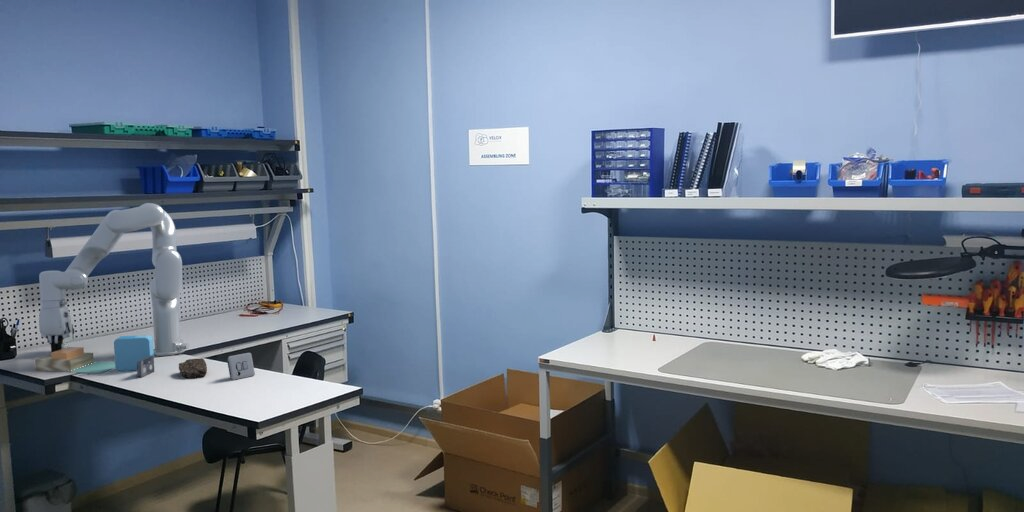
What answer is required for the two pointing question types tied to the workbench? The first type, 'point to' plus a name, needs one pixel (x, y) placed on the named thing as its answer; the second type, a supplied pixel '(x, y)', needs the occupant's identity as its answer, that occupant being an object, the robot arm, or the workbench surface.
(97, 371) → the mat
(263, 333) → the workbench surface
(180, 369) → the brown rock
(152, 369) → the mini dv tape
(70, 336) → the pneumatic valve
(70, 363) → the deck
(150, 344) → the data package
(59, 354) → the orange sponge
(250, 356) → the electrical switch
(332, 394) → the workbench surface
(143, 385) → the workbench surface
